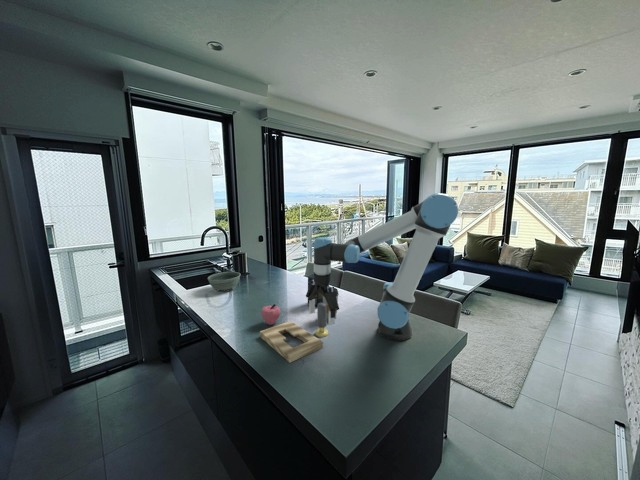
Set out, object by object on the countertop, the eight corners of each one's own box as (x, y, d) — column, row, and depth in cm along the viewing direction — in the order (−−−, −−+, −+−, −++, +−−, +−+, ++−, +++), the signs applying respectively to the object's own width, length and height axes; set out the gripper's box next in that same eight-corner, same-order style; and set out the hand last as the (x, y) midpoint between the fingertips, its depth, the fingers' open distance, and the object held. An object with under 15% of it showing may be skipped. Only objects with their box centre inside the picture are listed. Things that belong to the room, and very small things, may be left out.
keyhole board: (322, 347, 107) (322, 341, 107) (289, 362, 97) (289, 356, 97) (290, 326, 126) (290, 320, 125) (260, 336, 116) (259, 331, 115)
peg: (331, 334, 118) (331, 304, 116) (320, 338, 114) (321, 308, 112) (322, 329, 123) (322, 300, 121) (312, 333, 119) (312, 303, 117)
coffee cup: (337, 321, 130) (337, 293, 128) (320, 320, 132) (320, 291, 130) (339, 314, 138) (339, 287, 136) (323, 313, 140) (323, 286, 138)
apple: (274, 317, 134) (273, 299, 133) (284, 323, 128) (284, 304, 127) (258, 323, 128) (257, 304, 126) (267, 330, 122) (267, 309, 120)
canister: (304, 306, 149) (304, 275, 147) (311, 300, 158) (311, 271, 155) (320, 308, 146) (320, 277, 143) (326, 302, 155) (326, 273, 152)
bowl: (235, 295, 166) (234, 280, 164) (202, 295, 166) (201, 279, 164) (245, 284, 186) (244, 271, 185) (215, 284, 186) (215, 271, 185)
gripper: (348, 278, 107) (346, 326, 111) (311, 265, 126) (310, 307, 129) (335, 281, 102) (333, 332, 106) (298, 268, 121) (298, 311, 125)
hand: (321, 318), depth 118 cm, fingers open, 13 cm apart
